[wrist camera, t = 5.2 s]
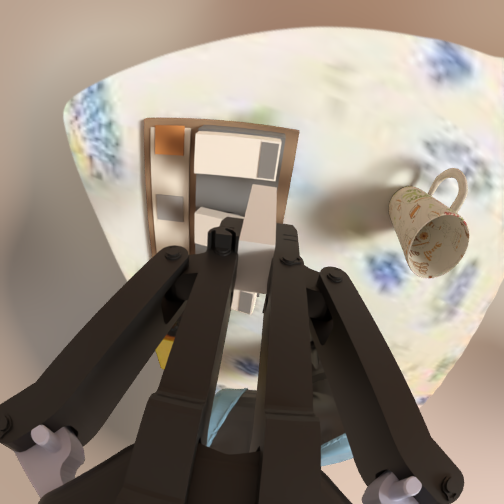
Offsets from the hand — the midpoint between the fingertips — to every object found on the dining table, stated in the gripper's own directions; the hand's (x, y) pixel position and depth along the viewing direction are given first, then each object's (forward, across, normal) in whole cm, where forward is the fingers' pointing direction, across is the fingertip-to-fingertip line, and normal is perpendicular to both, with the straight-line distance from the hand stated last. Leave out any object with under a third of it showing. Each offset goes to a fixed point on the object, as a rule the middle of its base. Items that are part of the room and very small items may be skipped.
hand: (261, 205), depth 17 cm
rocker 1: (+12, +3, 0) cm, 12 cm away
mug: (+16, -20, +2) cm, 26 cm away
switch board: (+16, +6, +9) cm, 19 cm away
